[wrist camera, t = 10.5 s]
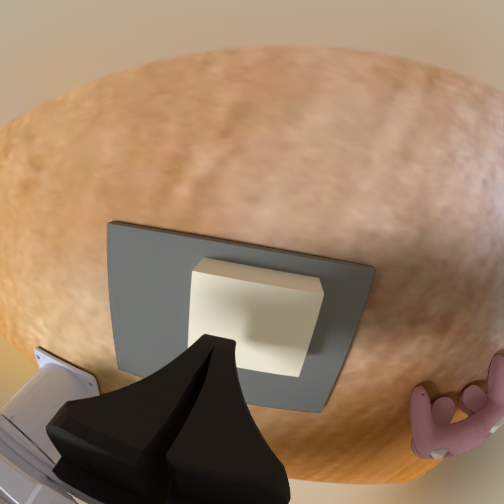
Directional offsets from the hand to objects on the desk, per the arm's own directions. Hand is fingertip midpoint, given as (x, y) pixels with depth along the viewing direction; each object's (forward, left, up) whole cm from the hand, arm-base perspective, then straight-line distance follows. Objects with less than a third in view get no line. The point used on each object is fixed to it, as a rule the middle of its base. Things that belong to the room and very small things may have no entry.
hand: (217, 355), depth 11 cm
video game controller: (-6, -19, -5) cm, 21 cm away
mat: (-2, +1, -5) cm, 5 cm away
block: (0, +2, -3) cm, 4 cm away
